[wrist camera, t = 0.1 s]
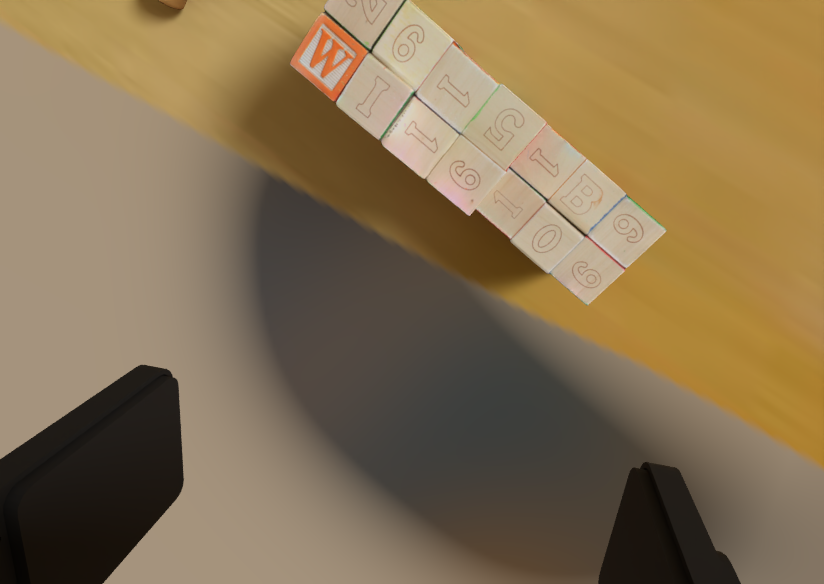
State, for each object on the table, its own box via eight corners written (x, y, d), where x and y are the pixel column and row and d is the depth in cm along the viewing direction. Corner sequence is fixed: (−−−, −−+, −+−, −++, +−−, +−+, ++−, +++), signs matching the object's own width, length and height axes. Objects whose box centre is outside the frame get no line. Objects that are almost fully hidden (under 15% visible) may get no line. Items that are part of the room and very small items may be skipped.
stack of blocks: (634, 204, 38) (686, 245, 26) (570, 266, 40) (592, 329, 29) (406, -1, 36) (356, -52, 25) (353, 76, 39) (284, 61, 27)
